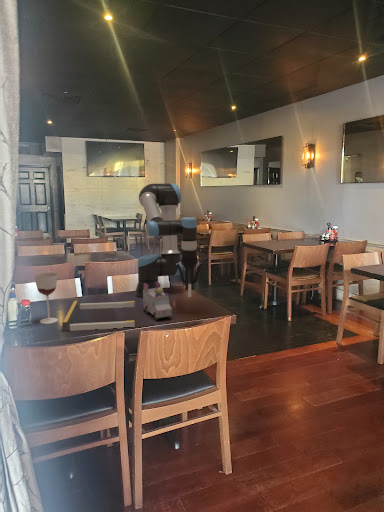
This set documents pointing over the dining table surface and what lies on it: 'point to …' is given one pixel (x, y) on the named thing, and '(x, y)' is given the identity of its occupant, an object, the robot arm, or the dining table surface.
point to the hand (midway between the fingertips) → (189, 296)
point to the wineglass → (46, 290)
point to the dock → (99, 325)
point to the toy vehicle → (156, 302)
